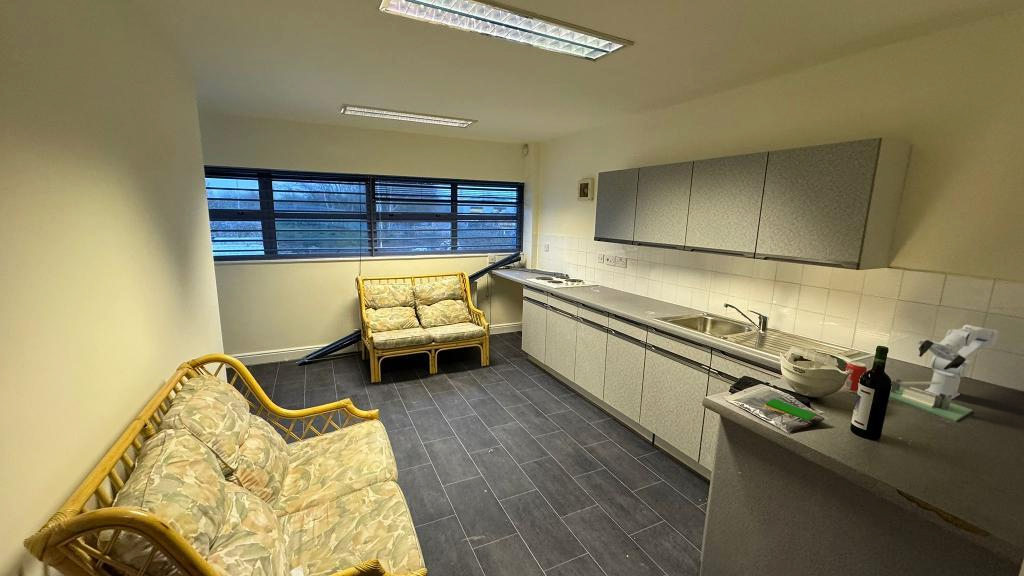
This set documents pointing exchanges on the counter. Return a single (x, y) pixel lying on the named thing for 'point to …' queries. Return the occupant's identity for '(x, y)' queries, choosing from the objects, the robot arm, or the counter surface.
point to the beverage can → (854, 375)
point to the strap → (918, 383)
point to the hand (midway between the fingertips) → (933, 361)
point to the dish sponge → (789, 409)
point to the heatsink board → (928, 401)
